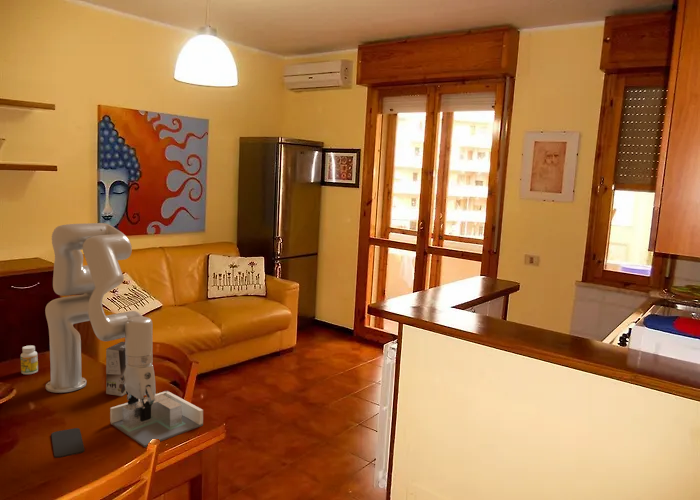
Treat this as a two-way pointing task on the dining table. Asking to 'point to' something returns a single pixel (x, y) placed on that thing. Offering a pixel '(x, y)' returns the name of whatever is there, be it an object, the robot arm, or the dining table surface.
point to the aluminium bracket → (153, 413)
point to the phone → (67, 442)
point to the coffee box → (115, 369)
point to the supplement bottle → (29, 360)
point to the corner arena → (156, 429)
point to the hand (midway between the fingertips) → (139, 415)
